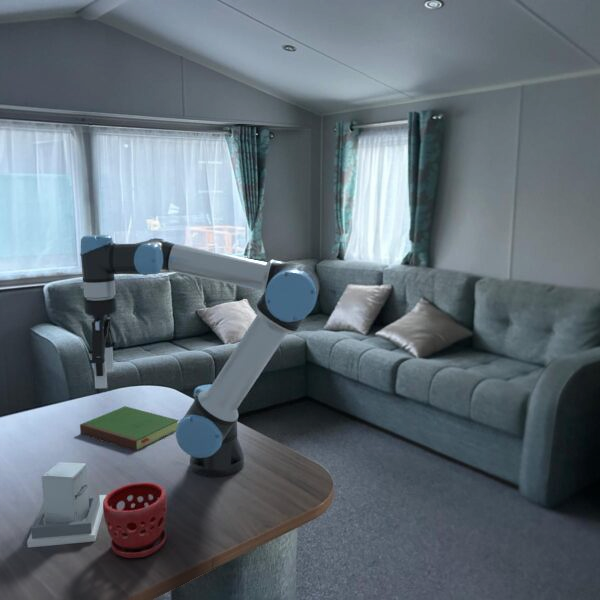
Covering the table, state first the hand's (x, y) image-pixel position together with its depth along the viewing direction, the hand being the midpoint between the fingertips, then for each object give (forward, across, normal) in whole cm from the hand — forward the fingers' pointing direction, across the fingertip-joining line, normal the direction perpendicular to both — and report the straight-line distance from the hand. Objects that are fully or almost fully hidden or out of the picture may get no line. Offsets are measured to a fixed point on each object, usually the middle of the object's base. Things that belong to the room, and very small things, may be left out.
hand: (105, 379), depth 153 cm
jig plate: (+29, +18, -7) cm, 34 cm away
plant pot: (+29, +30, +9) cm, 43 cm away
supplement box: (+27, +19, -7) cm, 34 cm away
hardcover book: (+29, -34, +2) cm, 45 cm away
